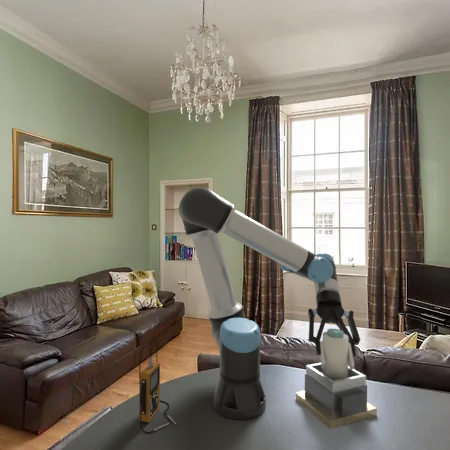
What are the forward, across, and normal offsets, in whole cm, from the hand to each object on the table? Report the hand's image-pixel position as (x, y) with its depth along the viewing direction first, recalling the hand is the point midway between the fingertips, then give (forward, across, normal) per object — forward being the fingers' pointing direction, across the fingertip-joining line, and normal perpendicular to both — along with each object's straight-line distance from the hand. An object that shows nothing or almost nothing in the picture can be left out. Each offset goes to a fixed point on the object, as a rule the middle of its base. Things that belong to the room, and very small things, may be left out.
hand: (337, 366), depth 89 cm
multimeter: (+16, +47, -3) cm, 50 cm away
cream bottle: (0, 0, -5) cm, 5 cm away
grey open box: (+7, 0, -12) cm, 14 cm away
